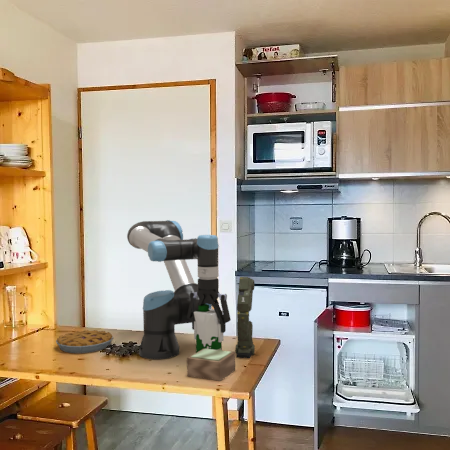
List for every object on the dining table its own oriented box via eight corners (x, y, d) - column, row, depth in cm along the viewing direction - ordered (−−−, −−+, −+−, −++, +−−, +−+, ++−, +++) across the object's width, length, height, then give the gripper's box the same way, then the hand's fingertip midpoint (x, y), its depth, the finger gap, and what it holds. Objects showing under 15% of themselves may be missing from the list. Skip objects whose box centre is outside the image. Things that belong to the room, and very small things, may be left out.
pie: (79, 358, 190) (79, 345, 190) (45, 348, 203) (44, 336, 203) (124, 345, 207) (124, 332, 207) (90, 337, 221) (89, 325, 220)
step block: (187, 376, 169) (187, 356, 168) (203, 365, 180) (203, 347, 179) (220, 381, 164) (220, 361, 163) (235, 369, 175) (235, 351, 174)
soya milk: (205, 355, 192) (205, 302, 191) (225, 359, 187) (225, 304, 186) (191, 361, 184) (191, 306, 183) (212, 365, 179) (212, 309, 178)
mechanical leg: (250, 359, 183) (253, 275, 189) (231, 358, 185) (234, 275, 191) (256, 357, 197) (258, 279, 202) (237, 356, 198) (240, 278, 204)
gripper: (176, 277, 185) (177, 339, 186) (231, 281, 176) (232, 345, 177) (186, 275, 192) (187, 334, 193) (240, 278, 183) (240, 340, 184)
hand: (208, 339), depth 185 cm, fingers closed on soya milk, 9 cm apart
